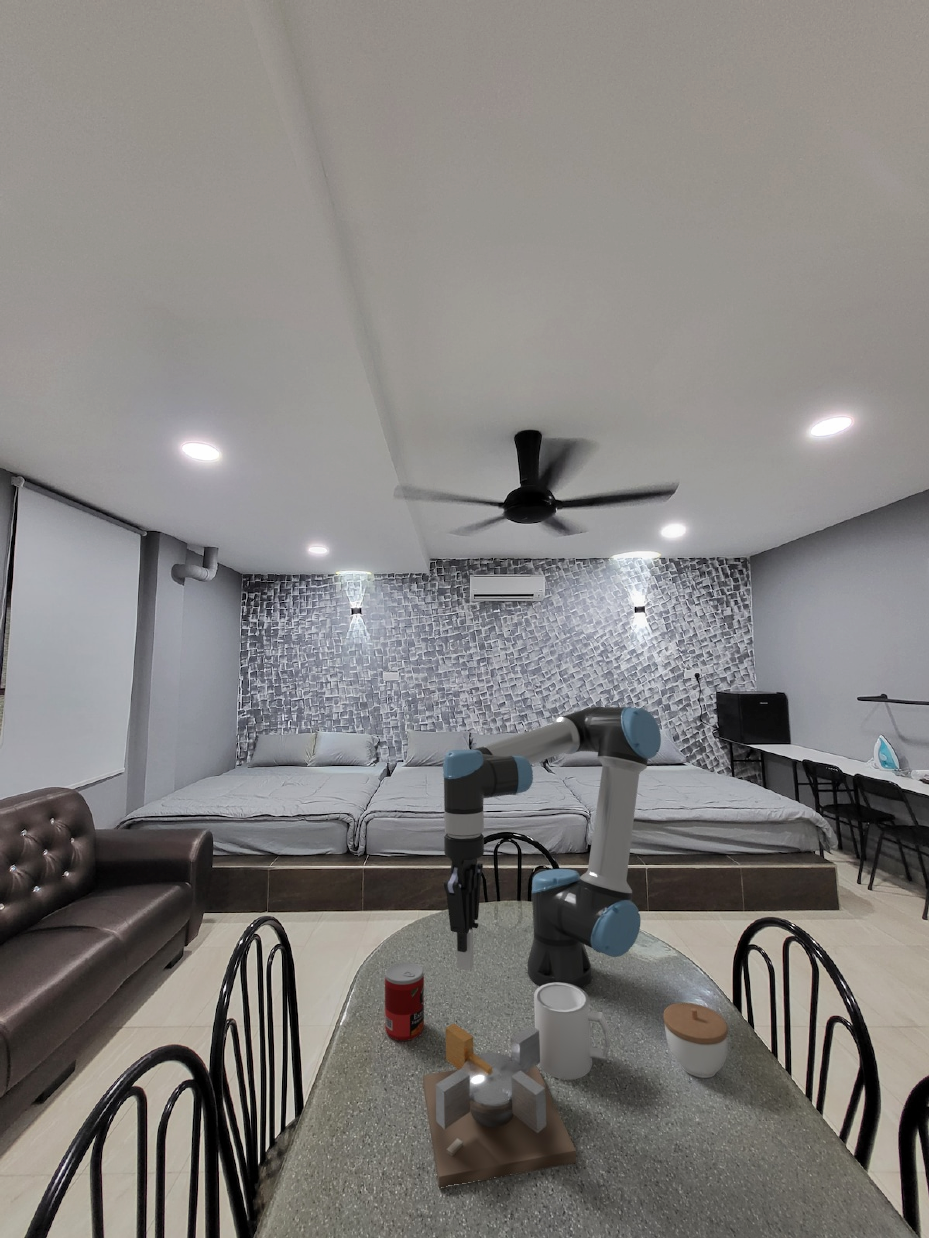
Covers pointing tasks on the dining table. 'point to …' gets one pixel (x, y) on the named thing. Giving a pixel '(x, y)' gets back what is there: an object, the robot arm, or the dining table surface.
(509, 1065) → the silver spoked hub
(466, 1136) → the wooden base plate
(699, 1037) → the lidded jar
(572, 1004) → the mug
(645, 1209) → the dining table surface
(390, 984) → the canned food
